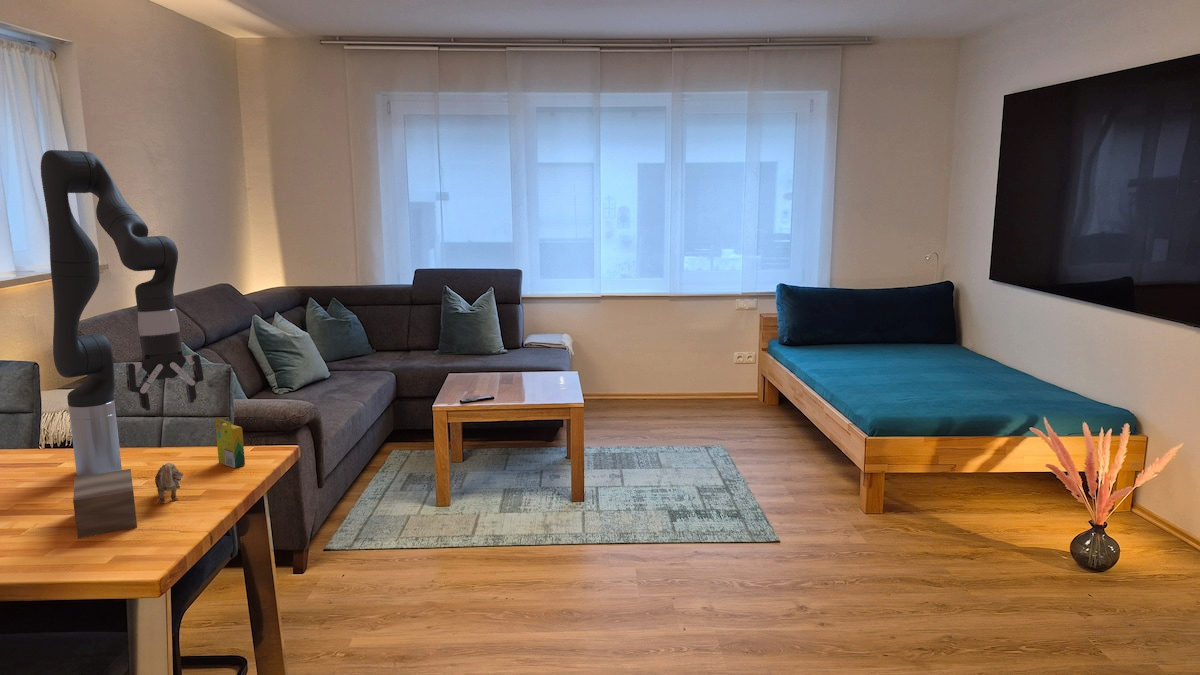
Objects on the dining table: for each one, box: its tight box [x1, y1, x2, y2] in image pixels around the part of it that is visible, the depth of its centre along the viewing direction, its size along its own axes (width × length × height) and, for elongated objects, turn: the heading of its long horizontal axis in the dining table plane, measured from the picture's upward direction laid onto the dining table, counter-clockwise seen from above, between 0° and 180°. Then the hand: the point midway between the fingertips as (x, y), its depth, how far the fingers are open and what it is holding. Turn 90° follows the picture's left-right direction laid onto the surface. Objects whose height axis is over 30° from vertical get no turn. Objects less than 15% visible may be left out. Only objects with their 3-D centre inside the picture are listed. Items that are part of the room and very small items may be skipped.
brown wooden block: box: [72, 468, 138, 540], centre depth 162 cm, size 15×10×8 cm, turn 32°
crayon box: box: [214, 417, 246, 469], centre depth 195 cm, size 7×3×12 cm, turn 54°
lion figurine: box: [154, 462, 184, 504], centre depth 175 cm, size 15×5×9 cm, turn 33°
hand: (169, 406), depth 170 cm, fingers open, 8 cm apart
